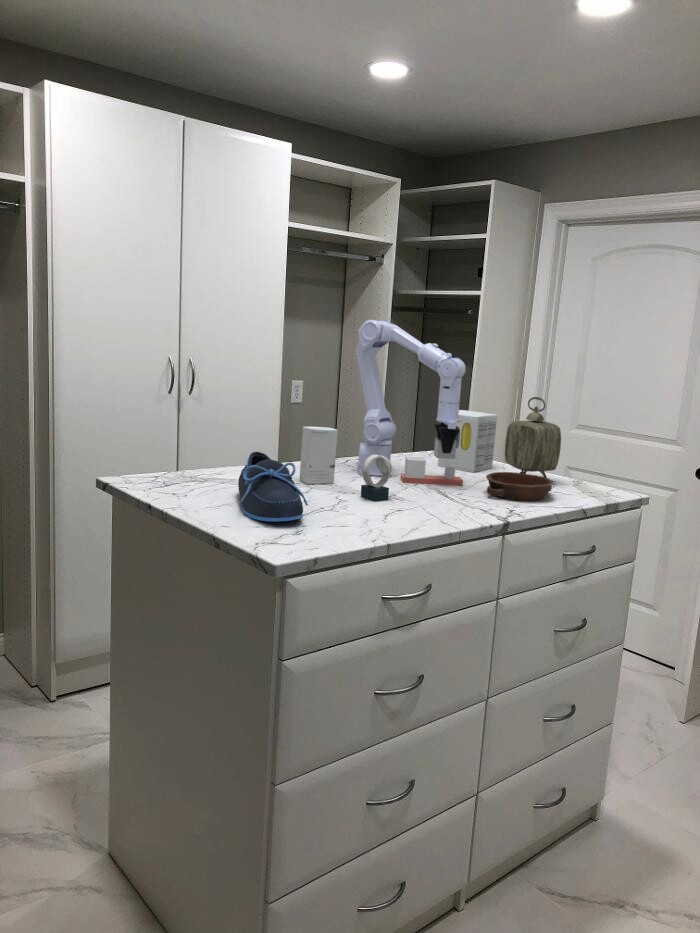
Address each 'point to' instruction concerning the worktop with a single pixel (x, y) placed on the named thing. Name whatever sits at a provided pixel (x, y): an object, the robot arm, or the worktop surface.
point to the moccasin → (269, 490)
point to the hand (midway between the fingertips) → (444, 451)
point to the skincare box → (318, 455)
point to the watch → (378, 490)
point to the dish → (518, 486)
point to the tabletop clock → (533, 443)
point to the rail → (417, 475)
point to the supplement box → (473, 442)
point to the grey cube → (439, 453)
